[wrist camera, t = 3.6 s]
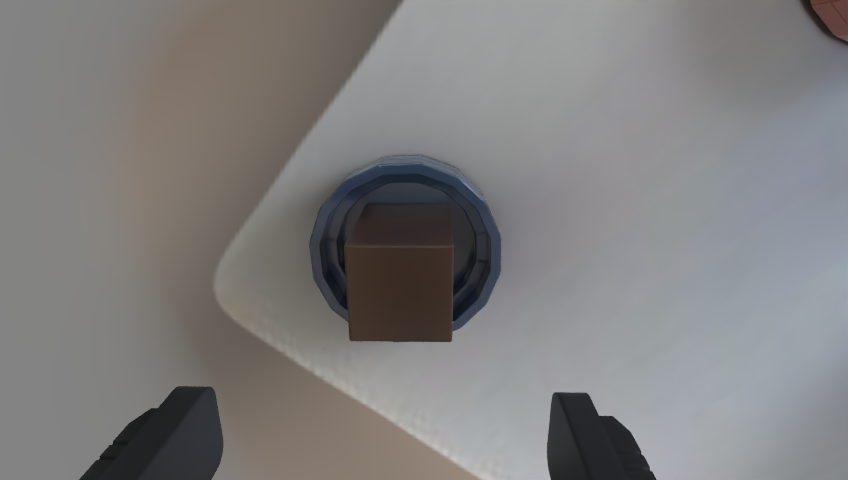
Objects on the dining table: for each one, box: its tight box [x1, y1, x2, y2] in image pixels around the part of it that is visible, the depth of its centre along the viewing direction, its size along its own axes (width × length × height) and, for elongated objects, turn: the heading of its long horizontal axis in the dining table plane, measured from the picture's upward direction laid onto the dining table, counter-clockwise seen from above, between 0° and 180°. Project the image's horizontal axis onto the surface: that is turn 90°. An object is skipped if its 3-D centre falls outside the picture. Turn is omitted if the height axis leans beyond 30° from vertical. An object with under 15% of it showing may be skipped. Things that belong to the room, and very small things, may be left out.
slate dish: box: [309, 155, 501, 342], centre depth 23 cm, size 9×9×3 cm
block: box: [344, 204, 454, 342], centre depth 21 cm, size 4×4×6 cm
